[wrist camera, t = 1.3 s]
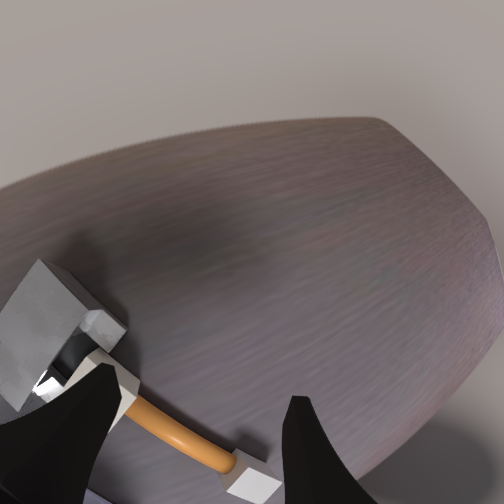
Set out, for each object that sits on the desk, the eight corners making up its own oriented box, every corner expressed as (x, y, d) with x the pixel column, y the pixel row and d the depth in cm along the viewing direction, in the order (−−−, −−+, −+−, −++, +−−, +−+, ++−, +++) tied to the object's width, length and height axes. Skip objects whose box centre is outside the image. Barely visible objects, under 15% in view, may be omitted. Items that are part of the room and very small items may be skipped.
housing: (128, 328, 23) (118, 337, 17) (67, 408, 20) (44, 436, 14) (66, 269, 22) (38, 258, 16) (9, 351, 19) (-28, 361, 13)
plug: (269, 461, 24) (290, 484, 20) (245, 487, 23) (261, 513, 19) (99, 346, 22) (86, 356, 17) (75, 379, 21) (58, 394, 16)
